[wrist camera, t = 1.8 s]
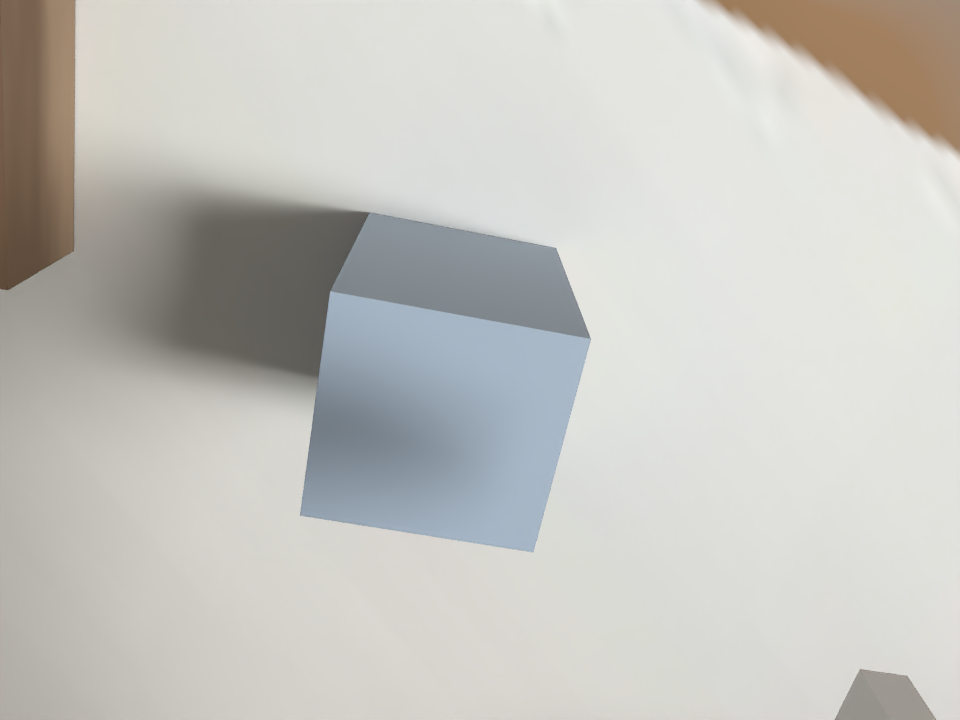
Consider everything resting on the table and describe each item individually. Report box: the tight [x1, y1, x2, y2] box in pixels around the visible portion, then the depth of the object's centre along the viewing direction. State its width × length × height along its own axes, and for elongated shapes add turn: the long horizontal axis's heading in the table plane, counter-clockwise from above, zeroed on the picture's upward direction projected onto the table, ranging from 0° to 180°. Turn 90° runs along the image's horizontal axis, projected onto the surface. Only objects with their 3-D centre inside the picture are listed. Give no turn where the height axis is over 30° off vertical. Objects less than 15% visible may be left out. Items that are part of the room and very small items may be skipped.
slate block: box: [300, 213, 591, 552], centre depth 23 cm, size 6×6×8 cm
